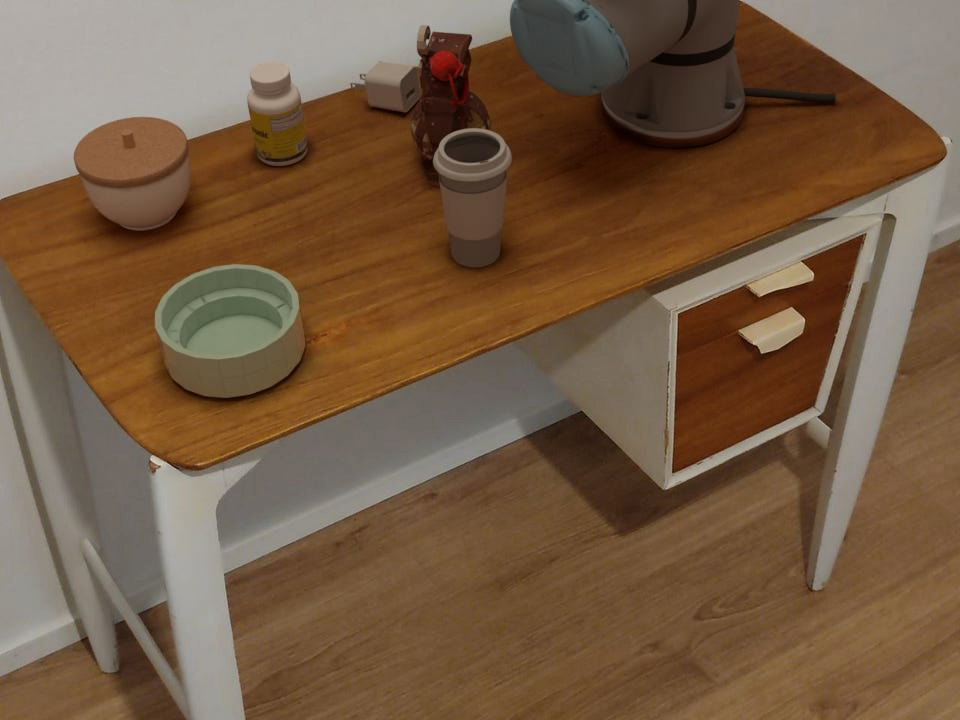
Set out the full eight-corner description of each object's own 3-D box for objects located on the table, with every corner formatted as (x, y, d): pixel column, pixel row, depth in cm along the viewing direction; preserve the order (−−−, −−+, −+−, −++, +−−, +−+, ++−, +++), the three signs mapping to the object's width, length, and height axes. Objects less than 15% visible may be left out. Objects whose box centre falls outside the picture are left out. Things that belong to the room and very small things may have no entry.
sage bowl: (300, 298, 119) (293, 256, 116) (311, 390, 110) (304, 347, 107) (165, 316, 118) (155, 273, 114) (165, 411, 109) (154, 367, 106)
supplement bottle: (250, 146, 138) (236, 64, 131) (299, 133, 139) (287, 52, 132) (264, 173, 134) (251, 90, 127) (315, 160, 135) (304, 77, 129)
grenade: (479, 193, 130) (475, 61, 120) (401, 185, 132) (390, 54, 121) (498, 141, 137) (496, 11, 127) (423, 134, 138) (415, 5, 128)
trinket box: (177, 251, 125) (158, 170, 118) (73, 239, 127) (49, 159, 120) (216, 186, 132) (200, 106, 126) (117, 175, 134) (97, 97, 128)
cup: (454, 283, 120) (449, 176, 112) (427, 242, 125) (420, 136, 117) (524, 262, 122) (524, 155, 114) (495, 223, 127) (493, 118, 119)
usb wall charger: (416, 64, 140) (421, 96, 143) (361, 55, 143) (367, 88, 146) (398, 81, 138) (404, 114, 140) (343, 73, 141) (349, 105, 143)
